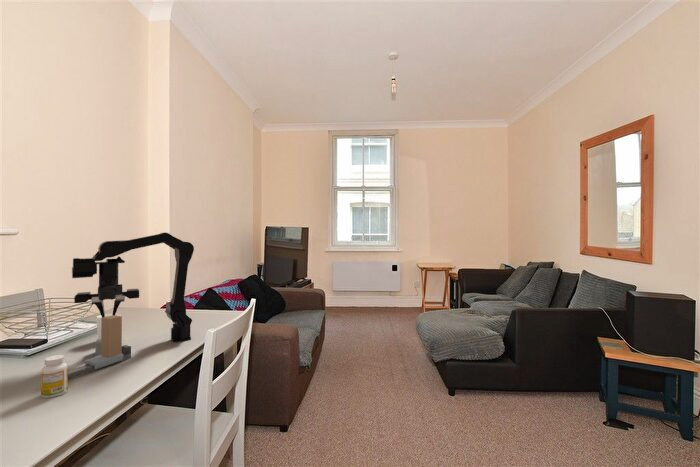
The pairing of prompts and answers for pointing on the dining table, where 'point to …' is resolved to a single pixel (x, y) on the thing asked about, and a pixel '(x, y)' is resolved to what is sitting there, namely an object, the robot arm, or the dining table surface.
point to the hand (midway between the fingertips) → (108, 319)
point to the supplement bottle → (54, 377)
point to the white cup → (100, 322)
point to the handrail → (89, 368)
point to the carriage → (109, 342)
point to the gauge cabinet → (98, 347)
